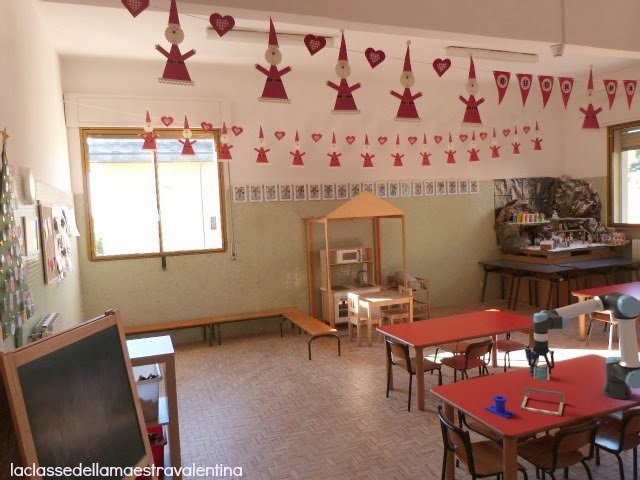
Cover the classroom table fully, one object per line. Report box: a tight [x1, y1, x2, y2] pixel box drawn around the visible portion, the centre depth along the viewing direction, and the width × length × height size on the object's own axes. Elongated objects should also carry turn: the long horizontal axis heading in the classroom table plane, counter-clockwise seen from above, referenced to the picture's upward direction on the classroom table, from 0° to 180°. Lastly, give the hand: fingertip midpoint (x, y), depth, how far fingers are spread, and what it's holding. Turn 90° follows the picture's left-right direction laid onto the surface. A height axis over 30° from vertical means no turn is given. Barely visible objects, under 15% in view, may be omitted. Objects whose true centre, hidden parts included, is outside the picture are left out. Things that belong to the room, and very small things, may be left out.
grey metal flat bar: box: [524, 387, 565, 404], centre depth 287 cm, size 21×2×6 cm, turn 59°
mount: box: [484, 394, 517, 419], centre depth 273 cm, size 15×8×9 cm, turn 31°
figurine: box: [524, 346, 540, 377], centre depth 329 cm, size 13×9×20 cm
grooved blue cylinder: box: [535, 365, 548, 382], centre depth 277 cm, size 6×6×7 cm
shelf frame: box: [520, 395, 565, 417], centre depth 279 cm, size 21×20×1 cm
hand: (541, 378), depth 277 cm, fingers closed on grooved blue cylinder, 6 cm apart
